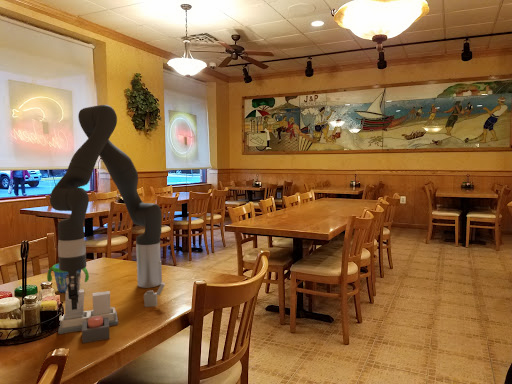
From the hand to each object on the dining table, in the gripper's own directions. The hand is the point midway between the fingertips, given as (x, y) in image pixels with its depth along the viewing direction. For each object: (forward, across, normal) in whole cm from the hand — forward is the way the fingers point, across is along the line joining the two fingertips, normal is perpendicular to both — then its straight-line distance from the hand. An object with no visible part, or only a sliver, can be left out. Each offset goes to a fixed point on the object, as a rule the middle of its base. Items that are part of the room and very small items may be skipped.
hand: (74, 308), depth 117 cm
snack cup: (+6, +37, +4) cm, 38 cm away
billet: (+3, 0, 0) cm, 3 cm away
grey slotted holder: (+5, 0, -4) cm, 6 cm away
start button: (+3, -10, -6) cm, 12 cm away
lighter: (+6, +7, -25) cm, 26 cm away
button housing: (+5, -10, -6) cm, 13 cm away
